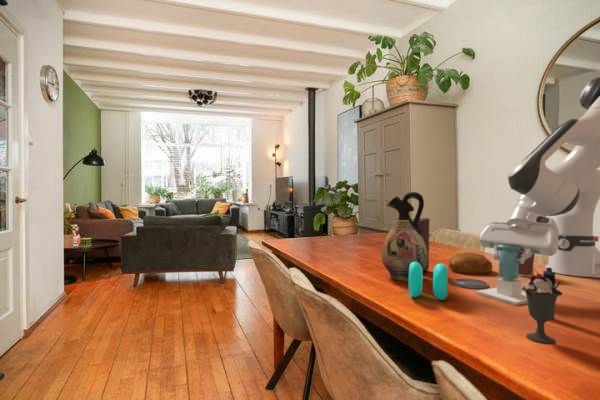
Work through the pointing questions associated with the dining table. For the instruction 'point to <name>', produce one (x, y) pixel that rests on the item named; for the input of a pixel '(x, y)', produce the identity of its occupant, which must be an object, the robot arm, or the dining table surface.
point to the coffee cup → (526, 266)
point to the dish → (470, 283)
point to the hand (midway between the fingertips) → (507, 260)
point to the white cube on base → (506, 292)
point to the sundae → (541, 304)
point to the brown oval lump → (470, 263)
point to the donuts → (438, 280)
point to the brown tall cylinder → (425, 235)
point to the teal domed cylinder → (508, 261)
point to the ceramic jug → (404, 239)
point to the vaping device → (550, 278)
